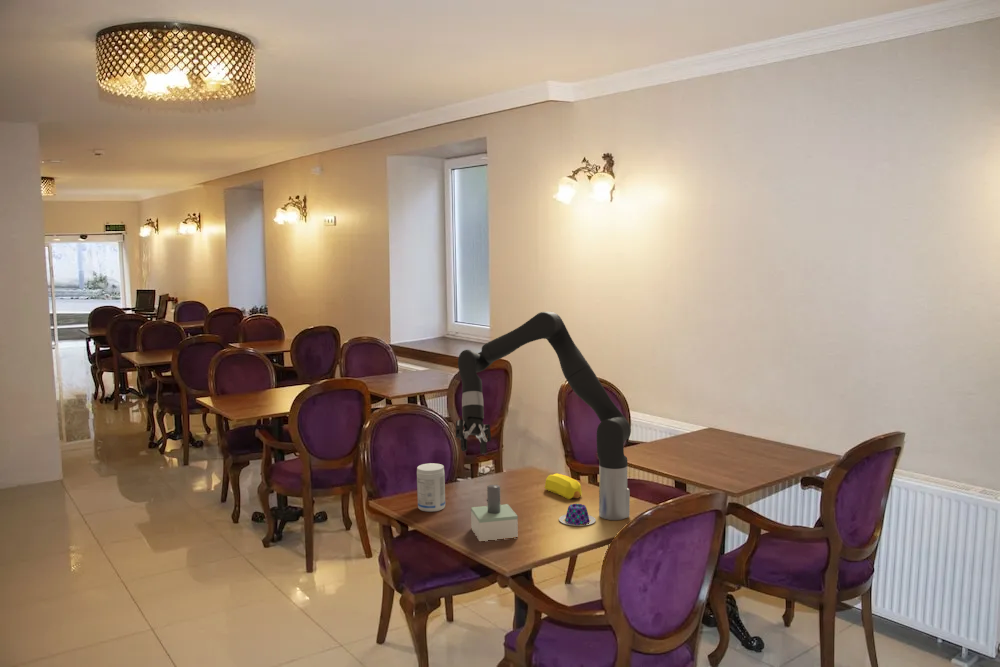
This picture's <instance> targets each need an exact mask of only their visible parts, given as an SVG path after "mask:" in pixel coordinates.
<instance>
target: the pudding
mask: <svg viewBox="0 0 1000 667" xmlns="http://www.w3.org/2000/svg"><path fill="white" fill-rule="evenodd" d="M565 517H566V518H565ZM564 519H565V521H566V522H565V521H563V520H564ZM589 519H590V520H591V521H590V520H589ZM558 520H559V522H561V523H562V524H564V525H567V526H568V525H569V526H575V527H582V526H583V527H584V526H588V525H592V524H594V523H596V520H597V519H596V518H595V517H594V516H592V515H590V514H589V513H588V509H587V506H586V505H585V504H582V503H573V504H572V503H571V504H570V505H568V507H567V511H566V514H563V515H561V516H560V517H558ZM588 523H589V524H588ZM580 524H584V525H580ZM585 524H586V525H585Z"/></svg>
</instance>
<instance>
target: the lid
mask: <svg viewBox="0 0 1000 667" xmlns="http://www.w3.org/2000/svg"><path fill="white" fill-rule="evenodd" d="M486 488H487V490H486V491H487V492H486V493H487V495H486V496H487V505H484V506H472V507H470V508H471V510H470V511H472V512H473V514H474V515H475V517H476V518H477V520H478V521H479V523H483V522H493V521H504V520H514V519H518V520H519V516H518V515H517V513H516V512H515V511H514V510H513V509H512V507H511V506H510V505H509V503H505V504H501V486H500V485H498V484H489V485H487V487H486Z"/></svg>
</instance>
